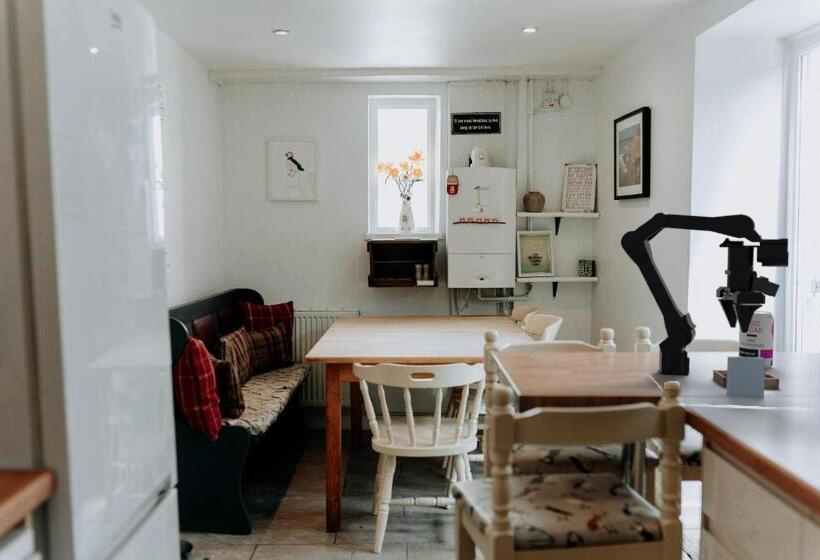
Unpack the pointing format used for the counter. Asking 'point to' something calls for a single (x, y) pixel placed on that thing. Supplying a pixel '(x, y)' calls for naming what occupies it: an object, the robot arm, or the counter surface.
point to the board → (745, 376)
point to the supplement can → (758, 338)
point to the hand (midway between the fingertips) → (738, 330)
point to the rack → (769, 380)
